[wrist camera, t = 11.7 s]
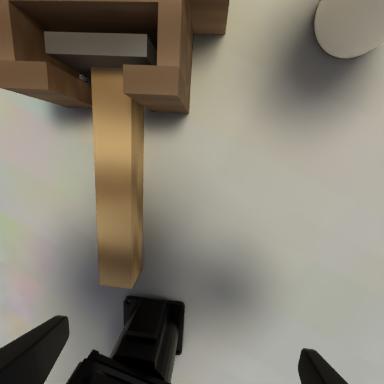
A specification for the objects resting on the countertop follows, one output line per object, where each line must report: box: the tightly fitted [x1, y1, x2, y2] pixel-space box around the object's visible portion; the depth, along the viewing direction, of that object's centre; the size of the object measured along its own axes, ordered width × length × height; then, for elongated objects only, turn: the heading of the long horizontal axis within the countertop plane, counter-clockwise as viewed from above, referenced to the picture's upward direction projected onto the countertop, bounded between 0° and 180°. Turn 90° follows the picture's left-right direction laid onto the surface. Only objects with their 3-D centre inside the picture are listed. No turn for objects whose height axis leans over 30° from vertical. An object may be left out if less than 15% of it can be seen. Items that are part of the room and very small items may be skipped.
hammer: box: [44, 31, 157, 289], centre depth 17 cm, size 19×6×5 cm, turn 176°
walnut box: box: [0, 0, 229, 113], centre depth 12 cm, size 8×16×9 cm, turn 86°
